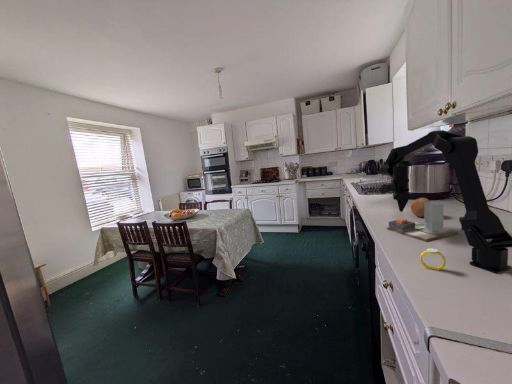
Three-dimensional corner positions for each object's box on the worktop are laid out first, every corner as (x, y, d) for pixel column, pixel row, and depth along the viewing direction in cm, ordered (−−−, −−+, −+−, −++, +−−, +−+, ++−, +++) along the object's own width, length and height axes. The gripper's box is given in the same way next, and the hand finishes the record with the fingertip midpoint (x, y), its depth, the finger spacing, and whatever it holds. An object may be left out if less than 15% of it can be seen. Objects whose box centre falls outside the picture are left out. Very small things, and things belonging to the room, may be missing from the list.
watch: (420, 269, 68) (419, 250, 67) (421, 265, 70) (419, 247, 70) (446, 272, 64) (444, 252, 64) (445, 268, 66) (444, 249, 66)
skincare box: (443, 233, 90) (444, 204, 88) (431, 233, 91) (432, 205, 89) (434, 228, 96) (435, 201, 94) (423, 228, 97) (423, 202, 95)
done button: (407, 226, 98) (407, 219, 98) (401, 227, 98) (401, 220, 97) (401, 224, 101) (401, 218, 101) (396, 225, 100) (395, 219, 100)
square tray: (457, 233, 90) (457, 224, 90) (425, 241, 86) (425, 232, 85) (415, 223, 107) (415, 215, 107) (387, 229, 103) (386, 221, 103)
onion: (425, 213, 121) (425, 195, 119) (438, 218, 111) (439, 198, 109) (406, 214, 122) (406, 197, 120) (418, 219, 112) (418, 200, 110)
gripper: (379, 175, 109) (380, 206, 111) (379, 180, 93) (380, 216, 95) (407, 174, 103) (407, 206, 105) (411, 179, 87) (411, 217, 89)
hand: (401, 211), depth 99 cm, fingers closed
